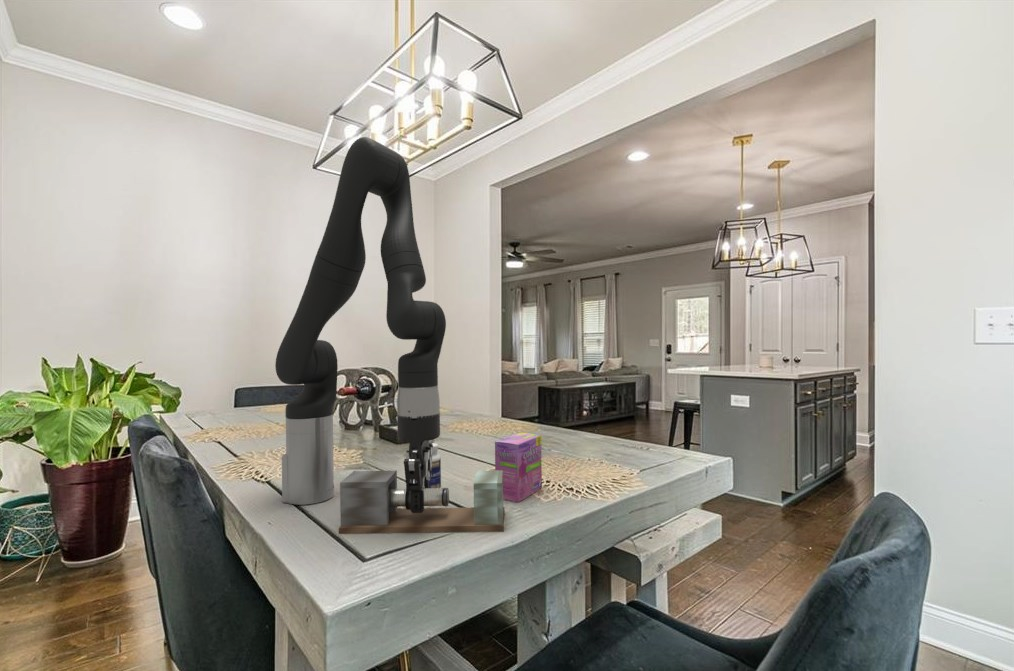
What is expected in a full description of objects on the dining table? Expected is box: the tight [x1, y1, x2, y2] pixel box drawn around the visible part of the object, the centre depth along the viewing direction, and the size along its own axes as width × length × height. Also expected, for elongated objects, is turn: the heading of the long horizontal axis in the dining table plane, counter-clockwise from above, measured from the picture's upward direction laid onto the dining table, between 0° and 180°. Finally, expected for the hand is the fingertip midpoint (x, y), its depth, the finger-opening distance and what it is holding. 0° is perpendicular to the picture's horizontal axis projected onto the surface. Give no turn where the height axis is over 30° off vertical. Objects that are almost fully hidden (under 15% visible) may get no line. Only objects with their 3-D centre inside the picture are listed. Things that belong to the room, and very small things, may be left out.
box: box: [494, 432, 543, 503], centre depth 100 cm, size 10×6×12 cm, turn 148°
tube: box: [388, 487, 450, 510], centre depth 84 cm, size 18×4×4 cm, turn 89°
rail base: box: [338, 469, 506, 535], centre depth 84 cm, size 28×9×8 cm, turn 89°
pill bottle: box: [413, 442, 442, 488], centre depth 103 cm, size 6×6×10 cm
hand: (420, 507), depth 84 cm, fingers closed on tube, 4 cm apart
